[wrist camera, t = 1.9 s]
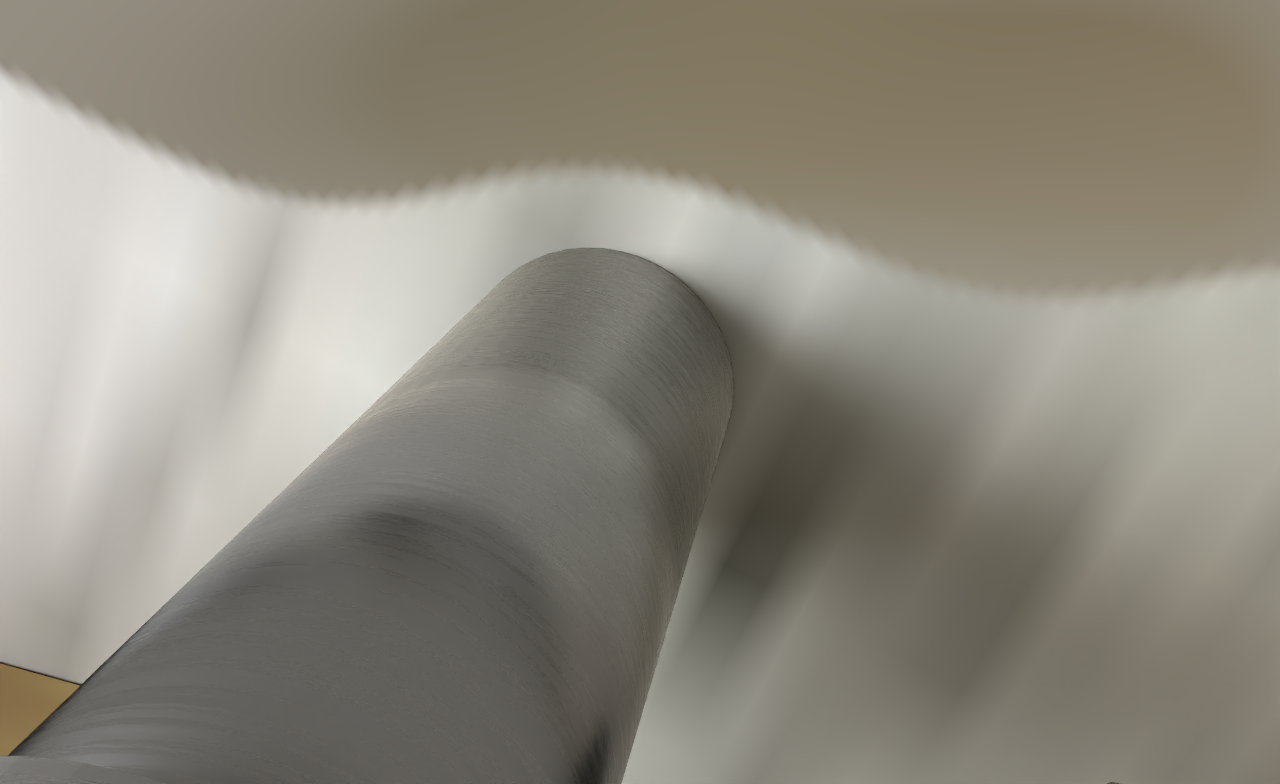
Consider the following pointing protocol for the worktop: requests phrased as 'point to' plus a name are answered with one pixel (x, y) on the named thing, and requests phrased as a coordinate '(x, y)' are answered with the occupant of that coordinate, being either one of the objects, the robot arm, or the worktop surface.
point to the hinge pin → (442, 565)
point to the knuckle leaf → (26, 703)
